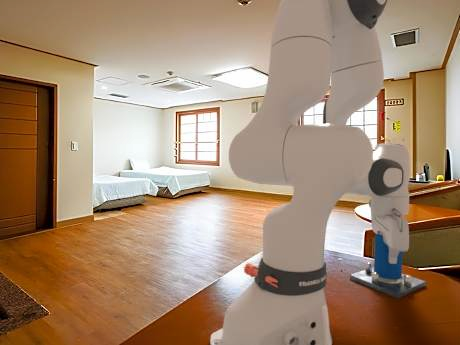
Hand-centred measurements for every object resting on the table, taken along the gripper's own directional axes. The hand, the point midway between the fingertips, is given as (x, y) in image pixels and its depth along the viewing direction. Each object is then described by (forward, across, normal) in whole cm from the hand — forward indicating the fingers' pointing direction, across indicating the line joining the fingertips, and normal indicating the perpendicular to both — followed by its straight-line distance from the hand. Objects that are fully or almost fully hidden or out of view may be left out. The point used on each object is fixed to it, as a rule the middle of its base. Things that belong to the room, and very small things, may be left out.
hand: (387, 257), depth 79 cm
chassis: (+7, 0, 0) cm, 7 cm away
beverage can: (+6, 0, 0) cm, 6 cm away
